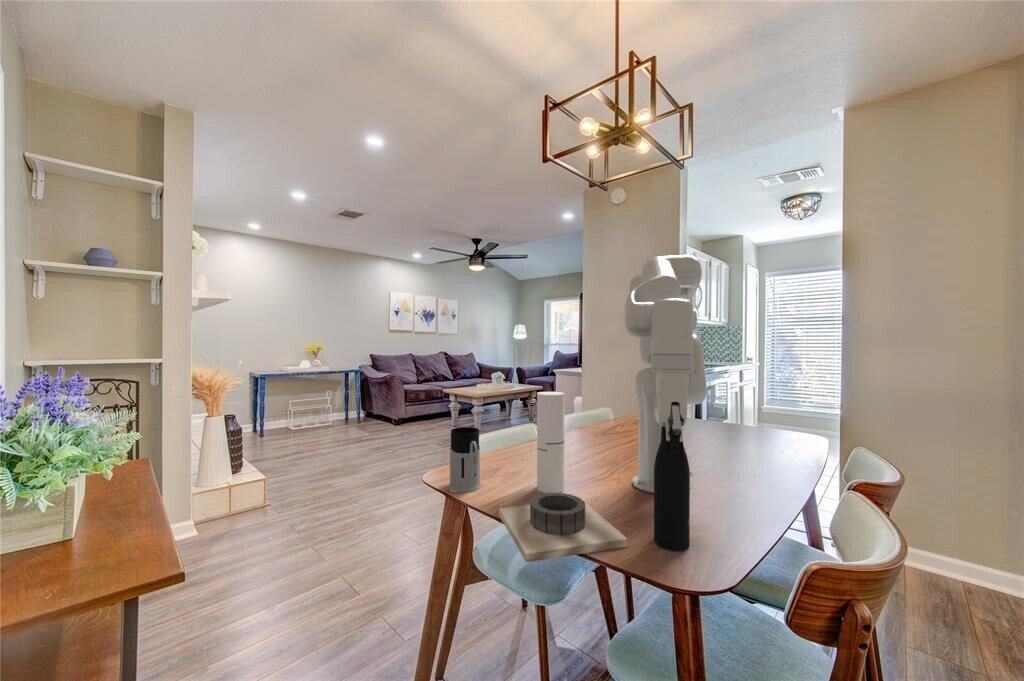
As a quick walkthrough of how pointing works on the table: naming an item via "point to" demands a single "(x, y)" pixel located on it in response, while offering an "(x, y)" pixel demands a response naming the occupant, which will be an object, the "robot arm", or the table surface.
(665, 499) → the wine bottle
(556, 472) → the cylindrical container
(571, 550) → the bottle stand
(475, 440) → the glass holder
